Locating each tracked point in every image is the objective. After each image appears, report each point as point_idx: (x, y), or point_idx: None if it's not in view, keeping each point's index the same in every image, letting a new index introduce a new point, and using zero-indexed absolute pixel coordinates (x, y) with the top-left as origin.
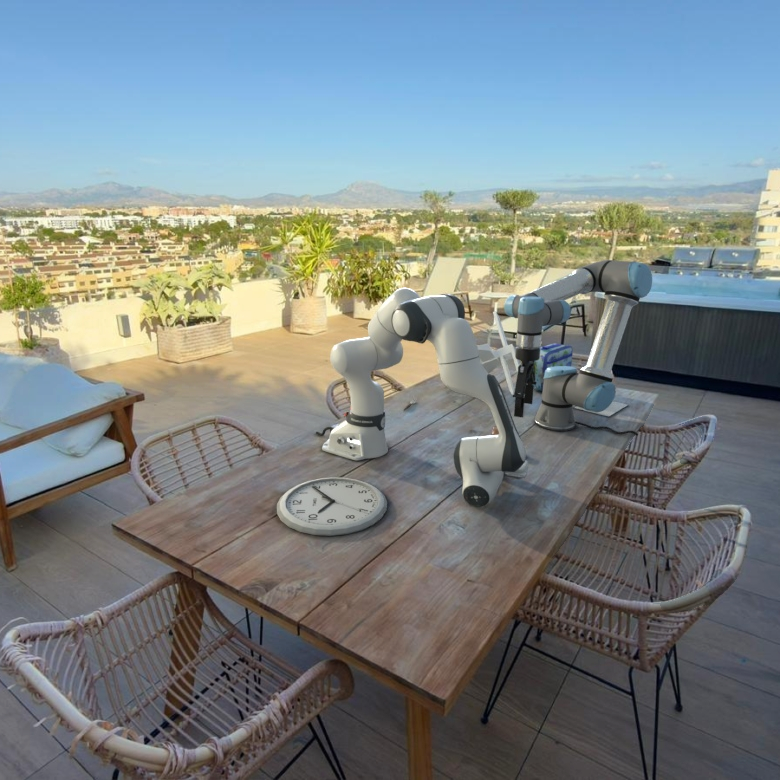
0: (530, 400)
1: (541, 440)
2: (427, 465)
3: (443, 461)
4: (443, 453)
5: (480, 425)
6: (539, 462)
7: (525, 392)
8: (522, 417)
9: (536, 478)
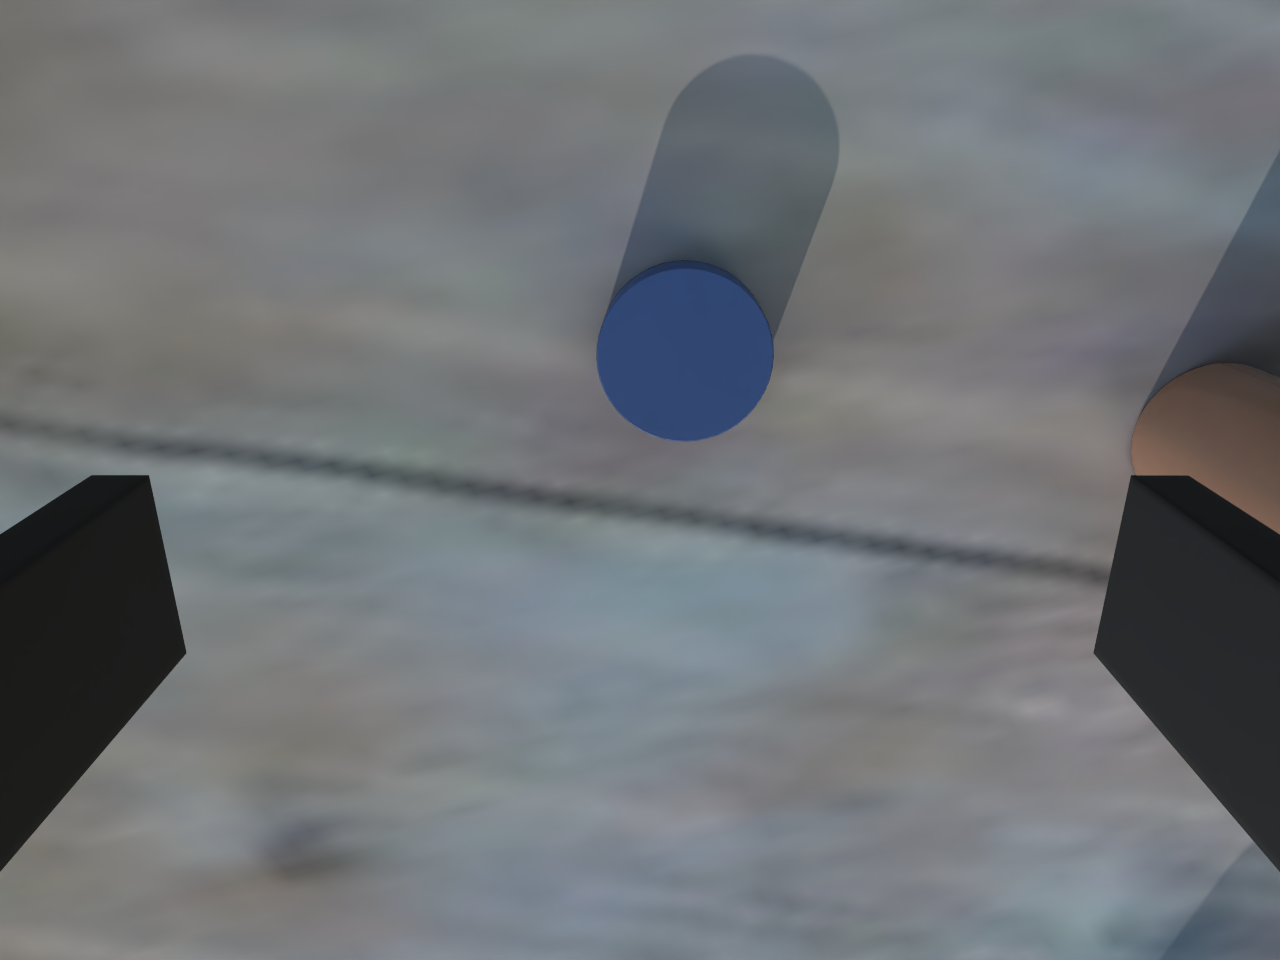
0: (106, 554)
1: (69, 184)
2: (1207, 949)
3: (1086, 877)
4: (922, 919)
5: (108, 835)
6: (734, 68)
7: (5, 833)
8: (1187, 478)
9: (1193, 7)
